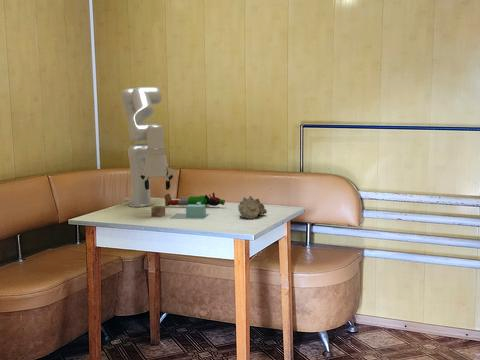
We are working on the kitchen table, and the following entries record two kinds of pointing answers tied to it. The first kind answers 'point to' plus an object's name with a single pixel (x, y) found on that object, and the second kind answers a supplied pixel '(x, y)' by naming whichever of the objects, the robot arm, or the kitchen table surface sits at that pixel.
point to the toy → (194, 201)
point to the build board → (183, 216)
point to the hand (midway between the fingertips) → (157, 189)
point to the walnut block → (158, 211)
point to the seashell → (251, 208)
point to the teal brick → (196, 211)
